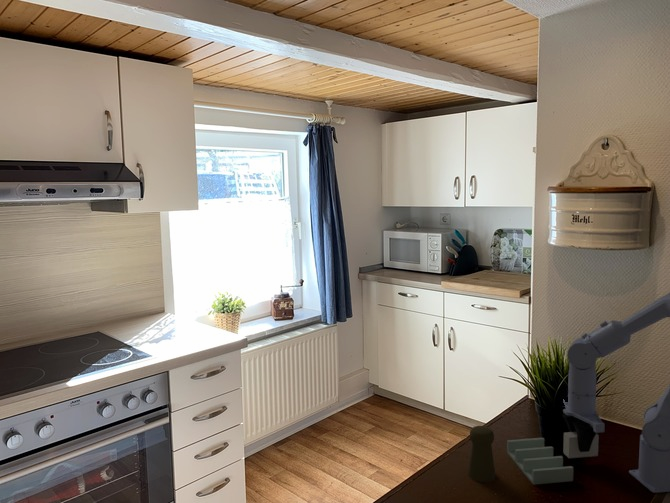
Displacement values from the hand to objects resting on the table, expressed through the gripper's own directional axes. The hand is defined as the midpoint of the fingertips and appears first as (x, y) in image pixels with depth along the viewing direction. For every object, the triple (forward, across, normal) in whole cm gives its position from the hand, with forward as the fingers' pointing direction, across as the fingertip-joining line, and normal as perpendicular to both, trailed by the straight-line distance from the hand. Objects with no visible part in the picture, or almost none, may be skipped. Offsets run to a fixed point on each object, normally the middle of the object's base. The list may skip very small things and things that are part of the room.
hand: (580, 447), depth 120 cm
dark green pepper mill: (+4, +1, -24) cm, 24 cm away
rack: (+4, 0, -10) cm, 11 cm away
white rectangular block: (+2, 0, 0) cm, 2 cm away
